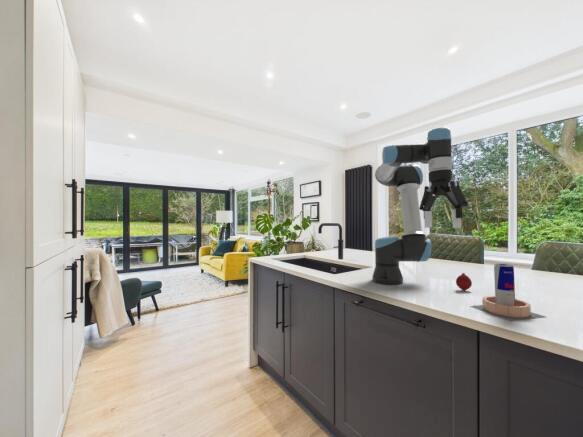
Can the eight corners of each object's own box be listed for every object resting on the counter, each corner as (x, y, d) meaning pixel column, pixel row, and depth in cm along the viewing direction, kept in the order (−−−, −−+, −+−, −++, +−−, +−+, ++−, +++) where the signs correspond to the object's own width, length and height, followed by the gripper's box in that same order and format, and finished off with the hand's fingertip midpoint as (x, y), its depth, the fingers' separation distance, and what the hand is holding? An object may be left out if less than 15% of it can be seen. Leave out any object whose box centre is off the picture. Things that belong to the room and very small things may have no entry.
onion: (474, 292, 108) (474, 274, 108) (459, 292, 109) (459, 273, 110) (468, 289, 114) (467, 271, 114) (454, 288, 115) (453, 271, 115)
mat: (469, 307, 90) (469, 306, 90) (501, 304, 92) (501, 303, 92) (510, 322, 76) (510, 321, 76) (547, 318, 79) (547, 316, 79)
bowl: (474, 306, 89) (474, 297, 89) (502, 304, 91) (502, 295, 91) (510, 319, 77) (509, 308, 77) (540, 316, 80) (540, 305, 80)
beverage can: (511, 312, 81) (509, 265, 81) (492, 307, 85) (490, 263, 86) (518, 309, 83) (516, 264, 84) (500, 305, 88) (498, 262, 88)
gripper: (409, 176, 105) (410, 227, 105) (459, 162, 80) (462, 228, 80) (424, 177, 106) (426, 227, 106) (479, 163, 82) (481, 227, 81)
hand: (441, 227), depth 93 cm, fingers open, 13 cm apart
